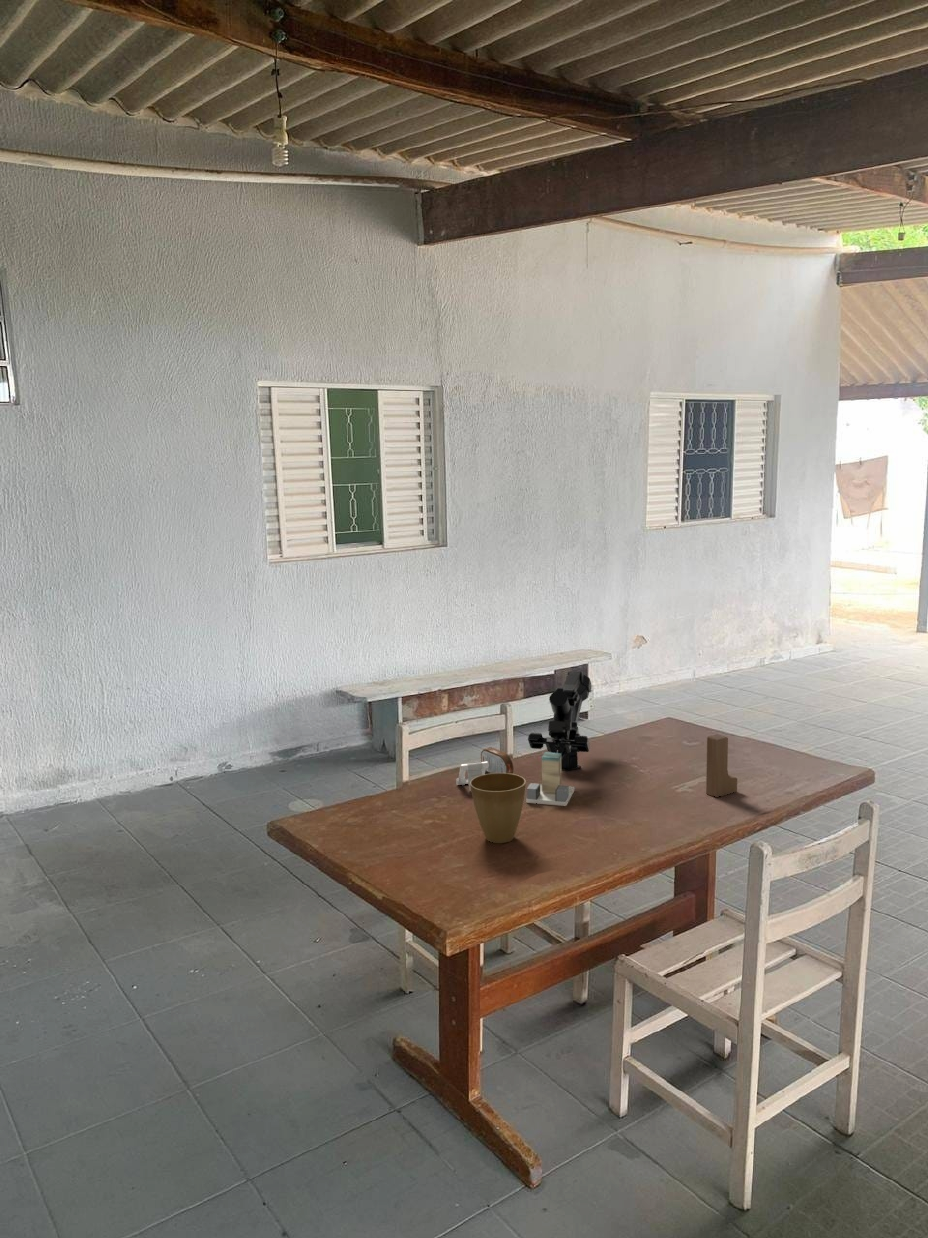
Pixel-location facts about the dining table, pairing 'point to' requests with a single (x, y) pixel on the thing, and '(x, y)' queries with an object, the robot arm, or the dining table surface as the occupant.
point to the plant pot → (498, 804)
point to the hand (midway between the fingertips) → (555, 766)
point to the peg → (551, 771)
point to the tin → (497, 761)
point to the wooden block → (718, 767)
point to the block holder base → (549, 795)
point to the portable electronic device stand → (471, 772)
